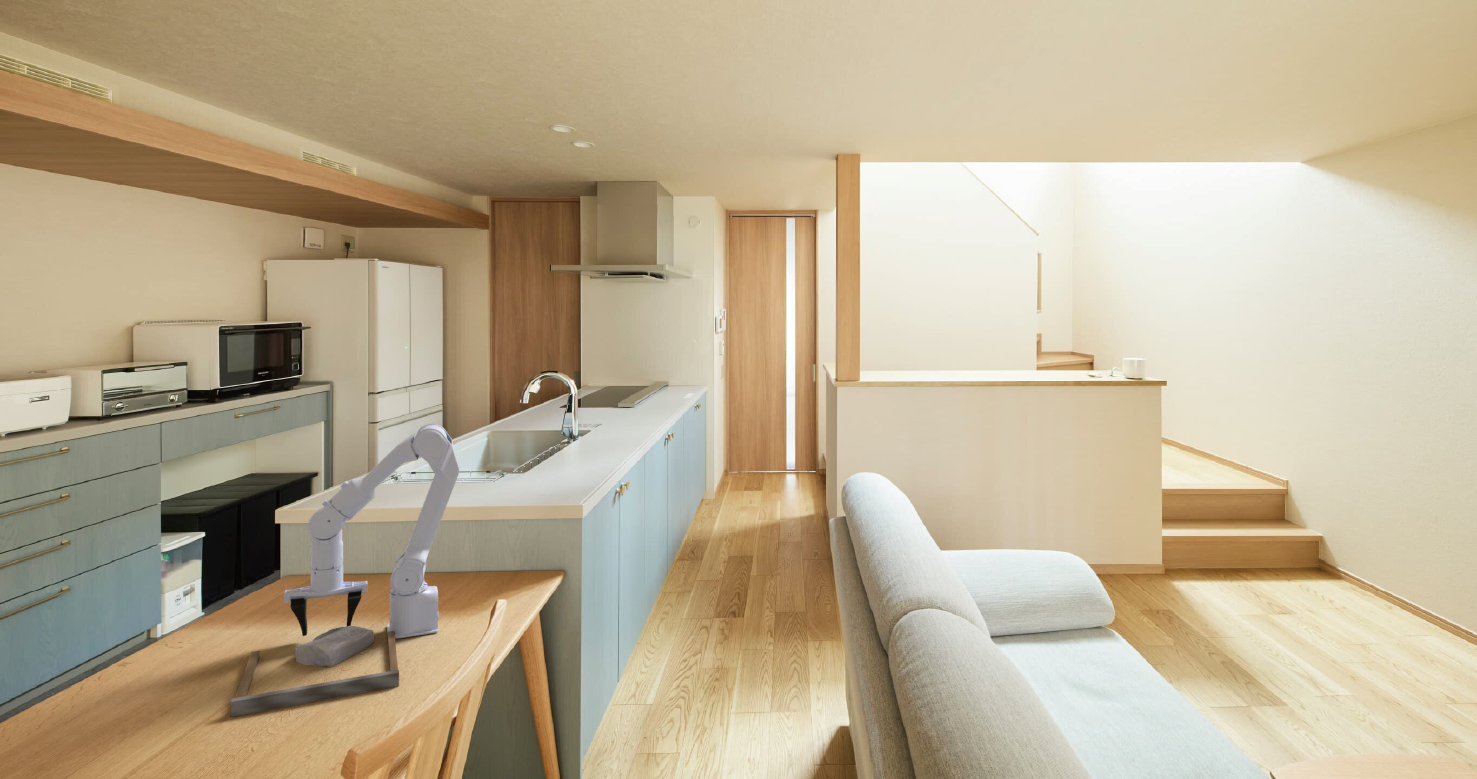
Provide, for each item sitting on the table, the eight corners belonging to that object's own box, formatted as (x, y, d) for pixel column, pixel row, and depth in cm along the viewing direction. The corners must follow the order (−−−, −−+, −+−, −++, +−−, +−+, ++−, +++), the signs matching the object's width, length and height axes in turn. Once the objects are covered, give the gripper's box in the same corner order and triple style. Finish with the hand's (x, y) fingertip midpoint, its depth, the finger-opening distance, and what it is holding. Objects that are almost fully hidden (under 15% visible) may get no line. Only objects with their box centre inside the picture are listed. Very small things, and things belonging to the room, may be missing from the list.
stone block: (289, 673, 130) (334, 669, 128) (285, 647, 130) (330, 643, 128) (337, 648, 141) (379, 644, 139) (334, 625, 141) (376, 621, 139)
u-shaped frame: (394, 636, 143) (394, 624, 142) (399, 686, 122) (399, 672, 122) (251, 657, 131) (251, 645, 131) (230, 717, 110) (230, 702, 110)
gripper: (367, 556, 146) (367, 618, 147) (286, 564, 139) (286, 629, 140) (367, 566, 140) (367, 630, 141) (282, 574, 133) (283, 642, 134)
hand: (327, 631), depth 140 cm, fingers open, 7 cm apart
